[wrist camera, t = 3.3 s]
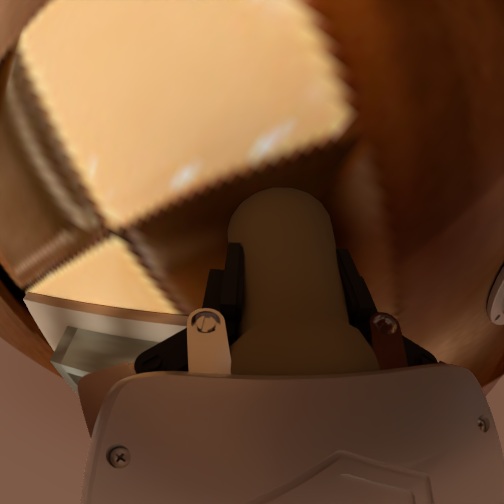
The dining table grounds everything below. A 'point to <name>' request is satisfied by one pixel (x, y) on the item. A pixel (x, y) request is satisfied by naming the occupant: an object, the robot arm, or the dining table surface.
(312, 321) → the brown rounded lobed piece
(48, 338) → the holder
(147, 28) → the dining table surface
